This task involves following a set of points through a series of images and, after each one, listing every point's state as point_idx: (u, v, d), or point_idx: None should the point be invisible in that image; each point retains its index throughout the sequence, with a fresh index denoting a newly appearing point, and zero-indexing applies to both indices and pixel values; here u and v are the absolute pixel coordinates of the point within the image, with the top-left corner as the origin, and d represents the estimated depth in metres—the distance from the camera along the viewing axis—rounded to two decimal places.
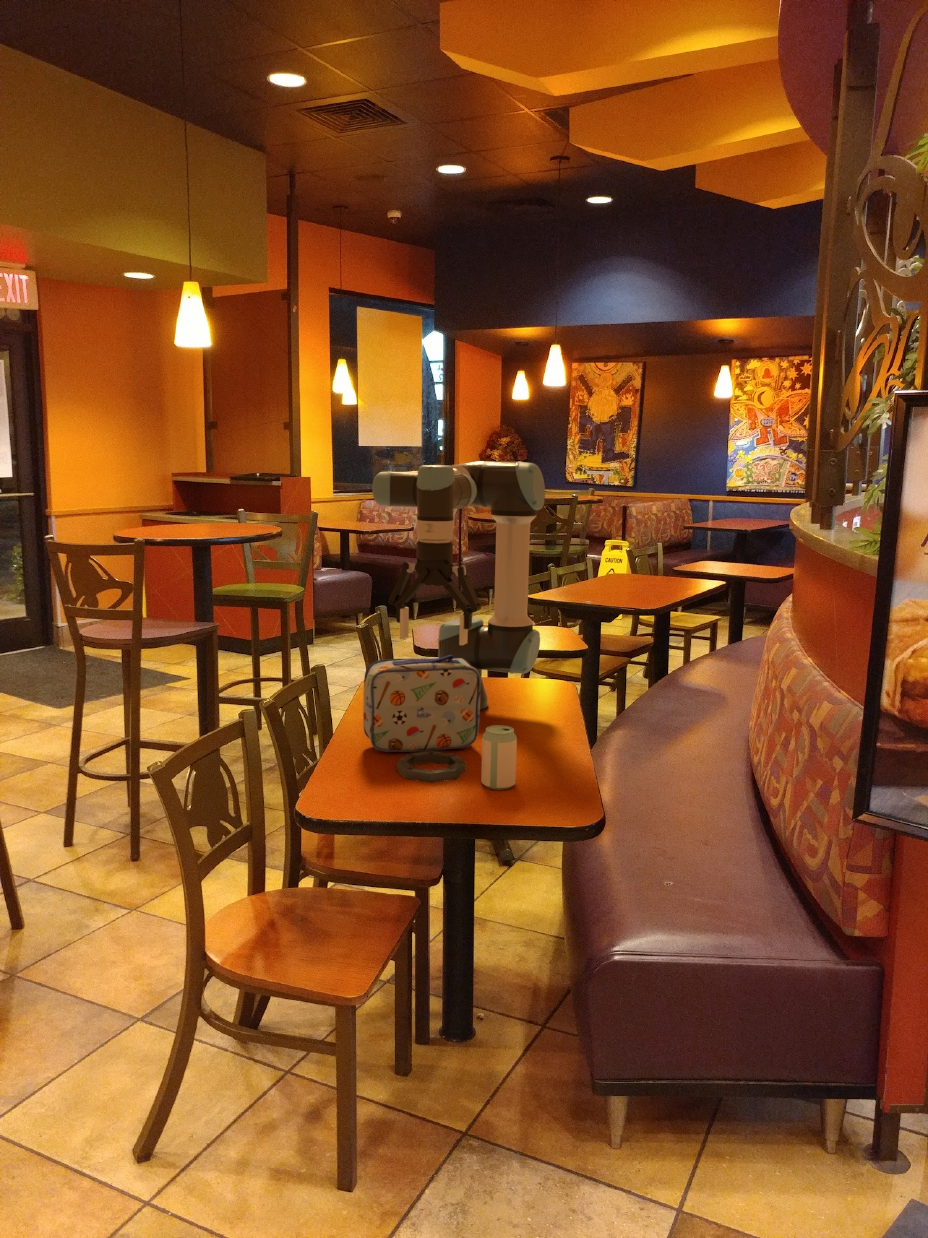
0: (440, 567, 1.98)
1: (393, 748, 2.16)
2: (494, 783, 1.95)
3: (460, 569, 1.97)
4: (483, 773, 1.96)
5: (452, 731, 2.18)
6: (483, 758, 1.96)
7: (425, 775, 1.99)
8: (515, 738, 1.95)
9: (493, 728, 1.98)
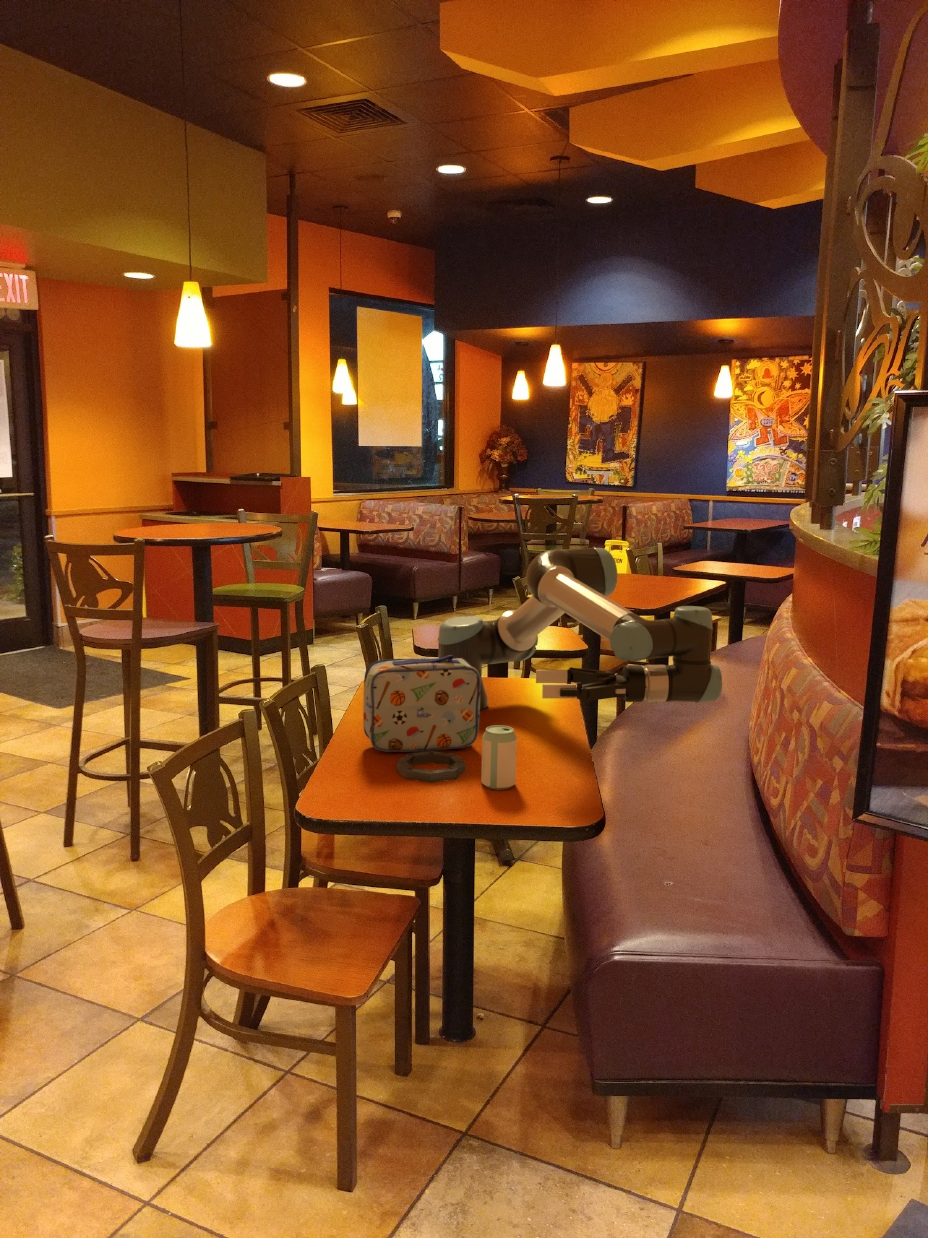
0: None
1: (393, 748, 2.16)
2: (494, 783, 1.95)
3: None
4: (483, 773, 1.96)
5: (452, 731, 2.18)
6: (483, 758, 1.96)
7: (425, 775, 1.99)
8: (515, 738, 1.95)
9: (493, 728, 1.98)
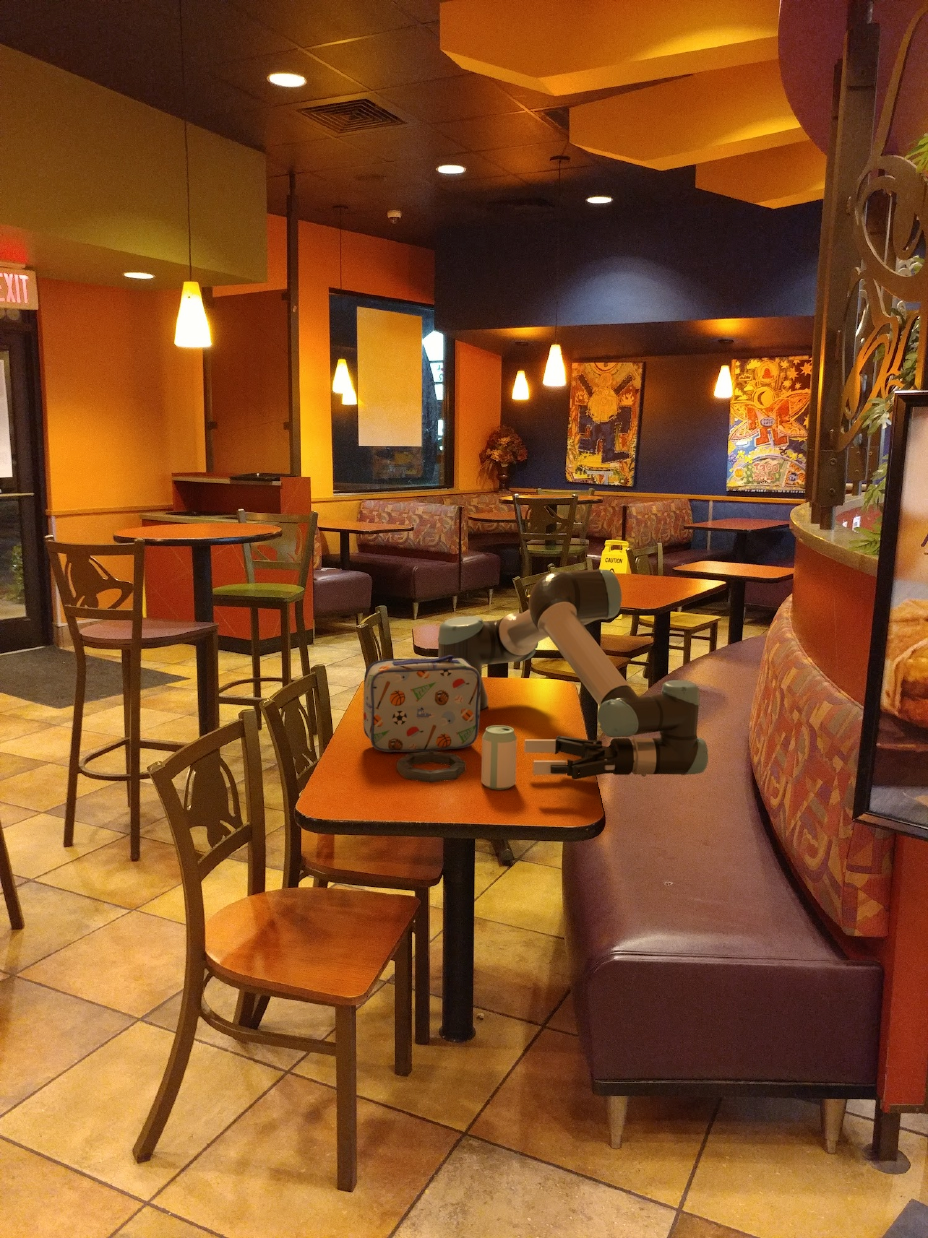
0: None
1: (393, 748, 2.16)
2: (494, 783, 1.95)
3: None
4: (483, 773, 1.96)
5: (452, 731, 2.18)
6: (483, 758, 1.96)
7: (425, 775, 1.99)
8: (515, 738, 1.95)
9: (493, 728, 1.98)
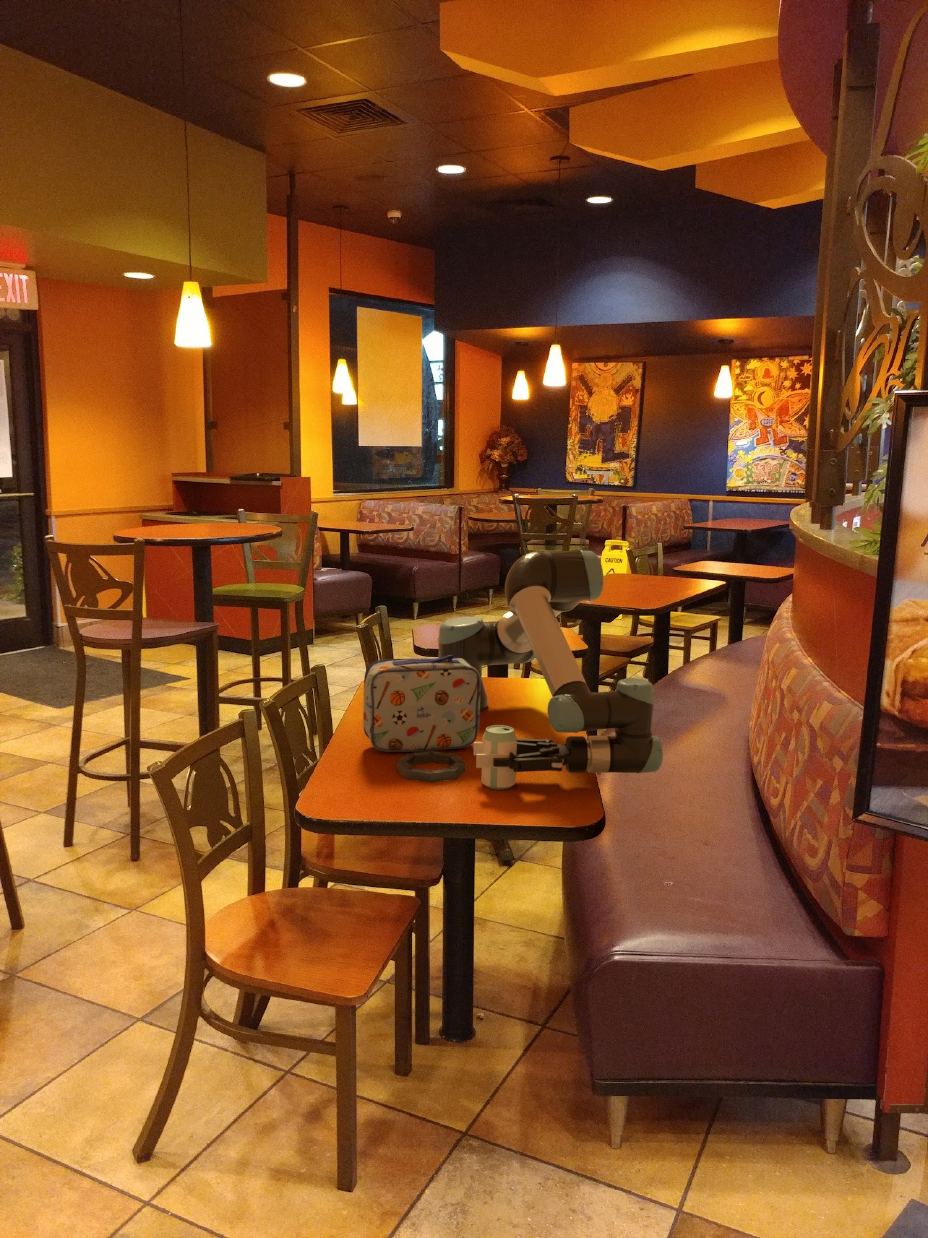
0: None
1: (393, 748, 2.16)
2: (494, 783, 1.95)
3: None
4: (483, 773, 1.96)
5: (452, 731, 2.18)
6: None
7: (425, 775, 1.99)
8: (515, 738, 1.95)
9: (493, 728, 1.98)
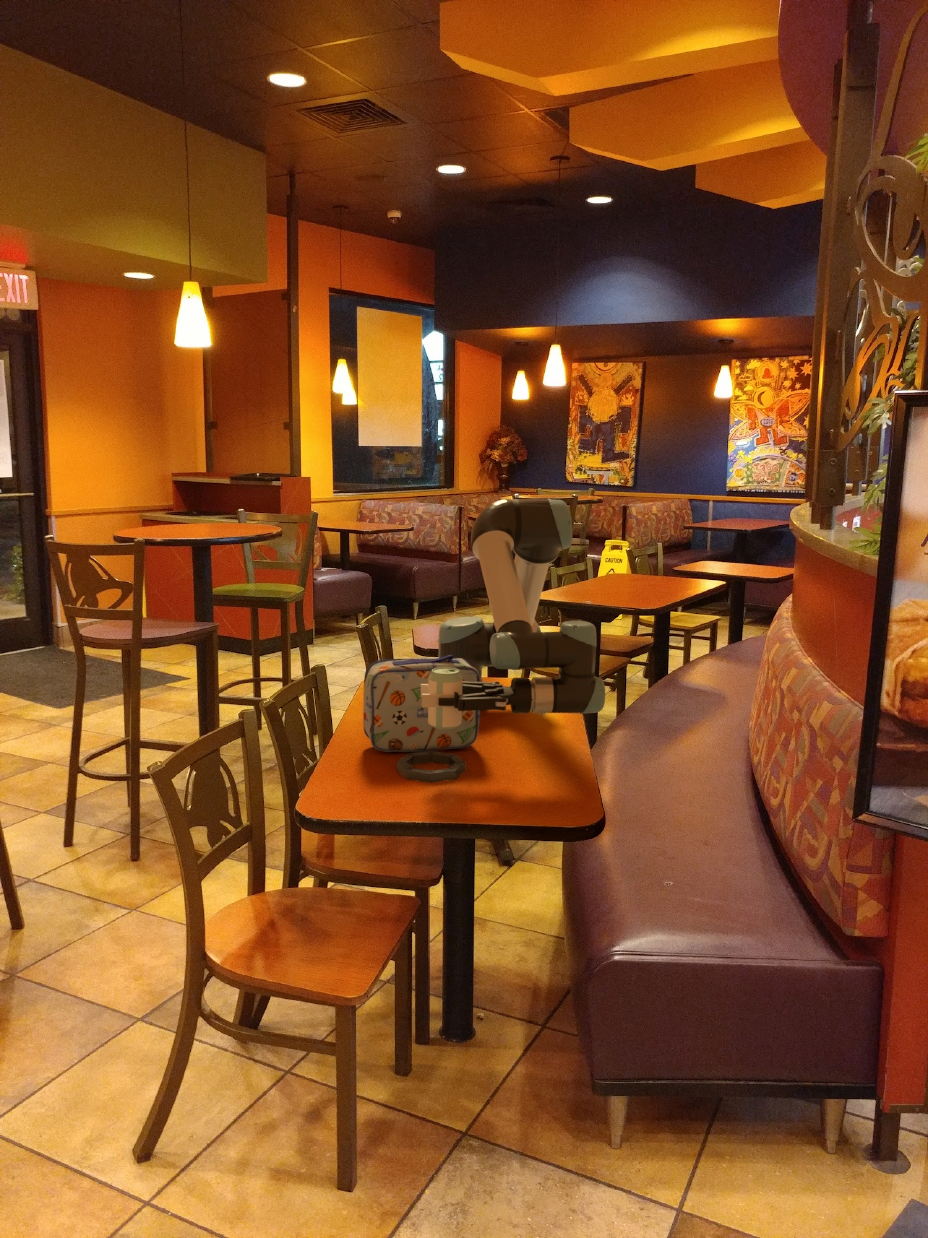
0: None
1: (393, 748, 2.16)
2: (440, 723, 1.99)
3: None
4: (429, 713, 2.00)
5: (452, 731, 2.18)
6: None
7: (425, 775, 1.99)
8: (460, 679, 1.99)
9: (439, 669, 2.01)
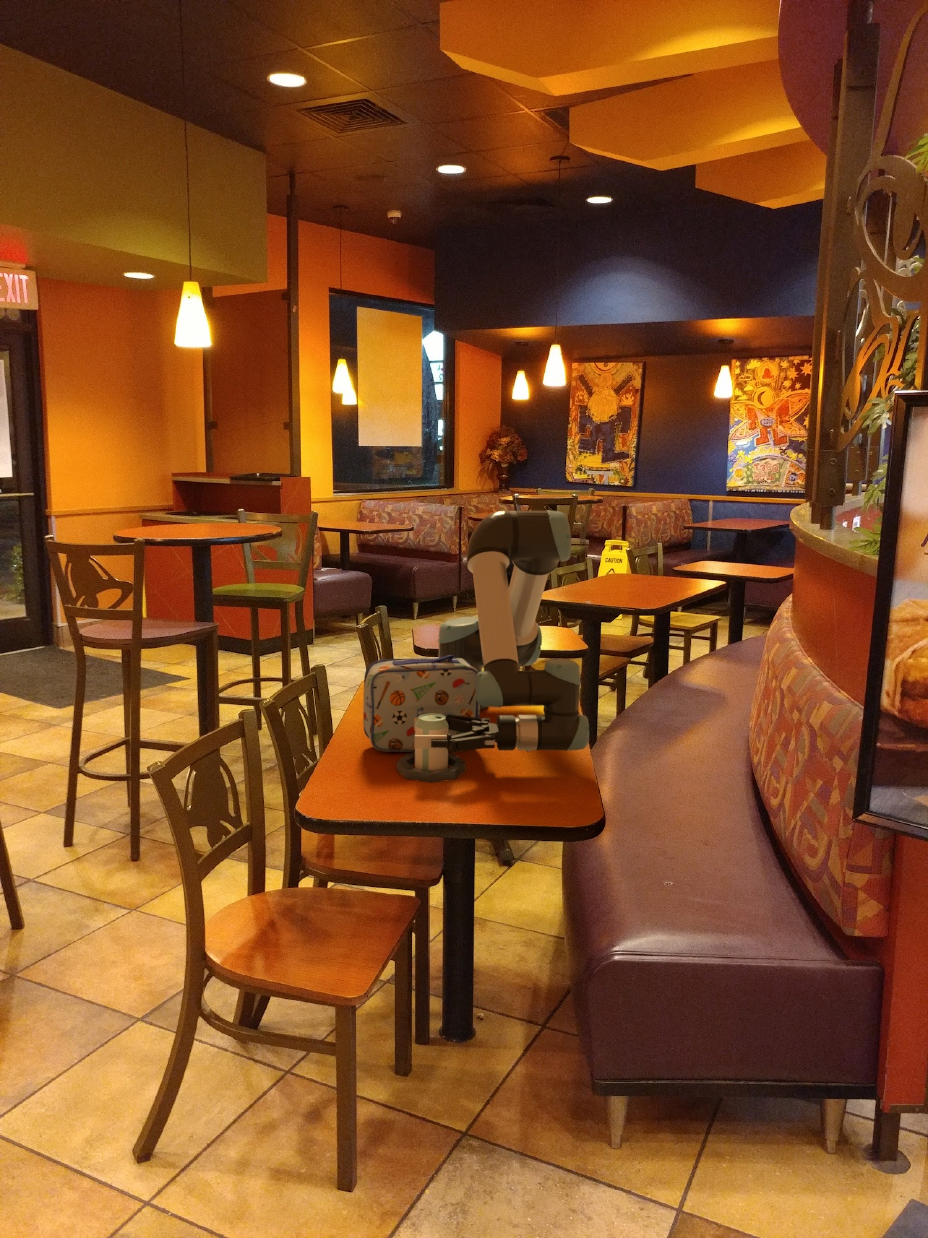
0: None
1: (393, 748, 2.16)
2: (426, 769, 2.03)
3: None
4: (416, 759, 2.04)
5: (452, 731, 2.18)
6: None
7: (425, 775, 1.99)
8: (446, 726, 2.03)
9: (426, 716, 2.06)
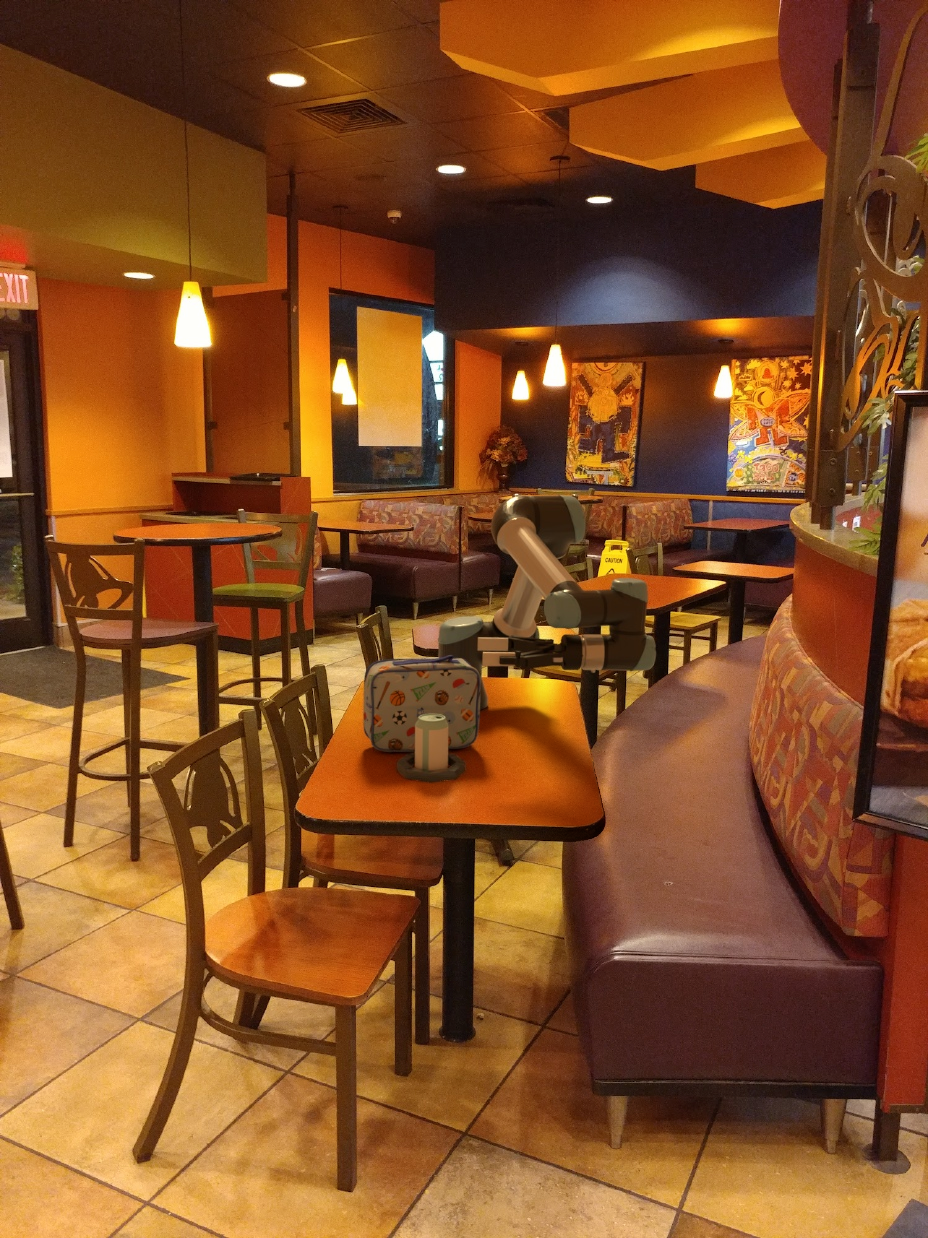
0: None
1: (393, 748, 2.16)
2: (426, 769, 2.03)
3: None
4: (416, 759, 2.04)
5: (452, 731, 2.18)
6: (416, 745, 2.04)
7: (425, 775, 1.99)
8: (446, 726, 2.03)
9: (426, 716, 2.06)
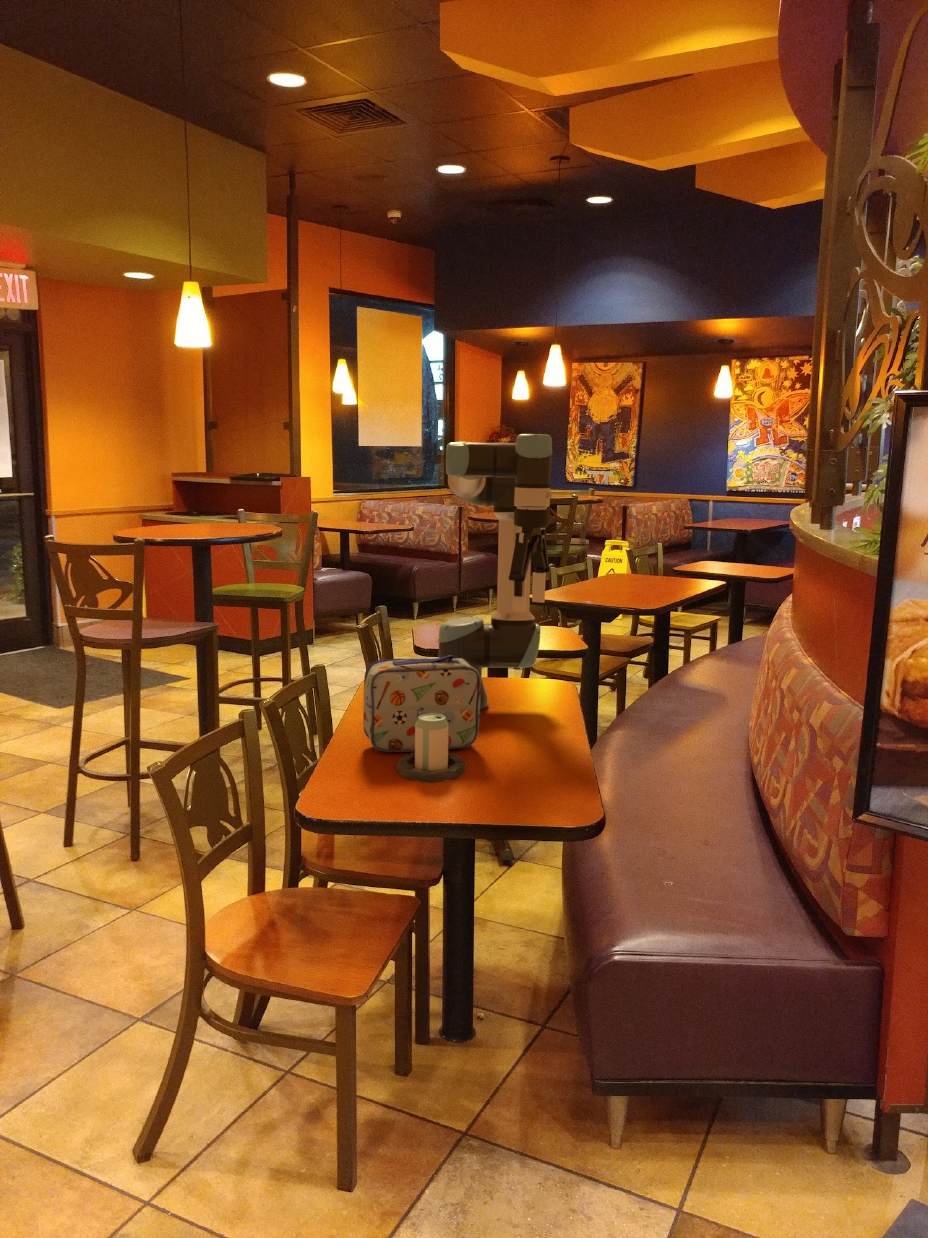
0: (538, 532, 2.06)
1: (393, 748, 2.16)
2: (426, 769, 2.03)
3: (545, 531, 2.10)
4: (416, 759, 2.04)
5: (452, 731, 2.18)
6: (416, 745, 2.04)
7: (425, 775, 1.99)
8: (446, 726, 2.03)
9: (426, 716, 2.06)
